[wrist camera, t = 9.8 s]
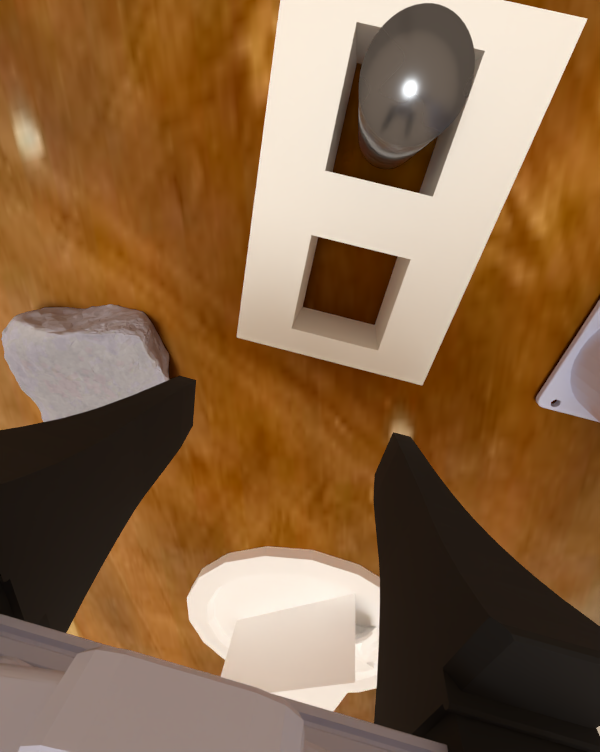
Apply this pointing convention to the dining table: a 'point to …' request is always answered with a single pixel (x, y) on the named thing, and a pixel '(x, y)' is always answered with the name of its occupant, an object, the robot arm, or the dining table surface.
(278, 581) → the dish
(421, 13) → the peg
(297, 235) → the hole block
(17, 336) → the stone block
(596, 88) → the dining table surface
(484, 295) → the dining table surface
